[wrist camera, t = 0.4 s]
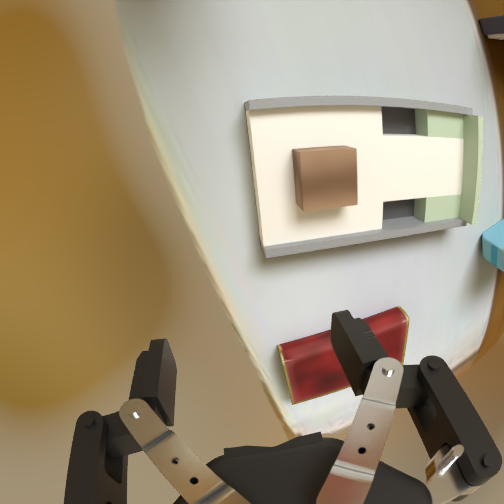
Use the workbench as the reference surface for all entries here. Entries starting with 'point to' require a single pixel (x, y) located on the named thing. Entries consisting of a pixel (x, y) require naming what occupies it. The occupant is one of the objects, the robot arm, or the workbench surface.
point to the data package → (494, 245)
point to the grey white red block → (493, 27)
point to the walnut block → (325, 177)
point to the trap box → (365, 168)
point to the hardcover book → (326, 362)
